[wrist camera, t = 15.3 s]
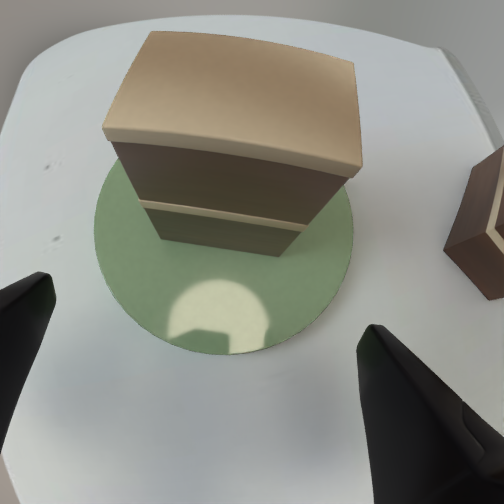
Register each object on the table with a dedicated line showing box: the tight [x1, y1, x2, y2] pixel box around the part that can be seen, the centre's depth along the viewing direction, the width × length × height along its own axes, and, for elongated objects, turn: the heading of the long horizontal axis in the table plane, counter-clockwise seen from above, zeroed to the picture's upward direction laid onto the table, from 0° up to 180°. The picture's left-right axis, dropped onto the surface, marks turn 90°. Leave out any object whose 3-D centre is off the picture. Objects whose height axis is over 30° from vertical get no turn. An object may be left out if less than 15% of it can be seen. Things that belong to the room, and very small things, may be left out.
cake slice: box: [102, 31, 363, 257], centre depth 12 cm, size 4×6×10 cm, turn 83°
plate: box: [94, 158, 353, 355], centre depth 17 cm, size 15×15×1 cm
